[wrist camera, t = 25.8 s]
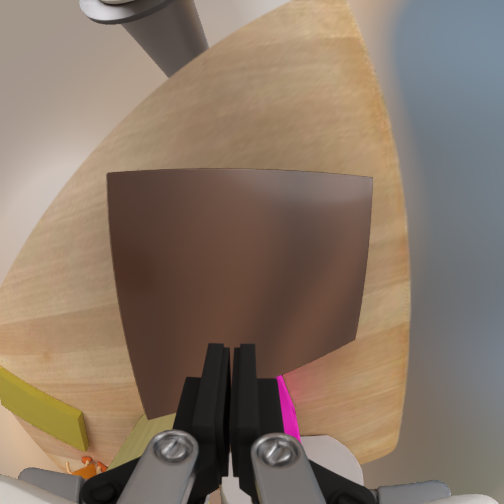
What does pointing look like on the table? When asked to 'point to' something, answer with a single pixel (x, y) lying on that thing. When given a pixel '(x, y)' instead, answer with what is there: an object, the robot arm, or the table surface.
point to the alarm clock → (316, 449)
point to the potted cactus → (141, 438)
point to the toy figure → (87, 468)
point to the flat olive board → (43, 411)
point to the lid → (234, 268)
